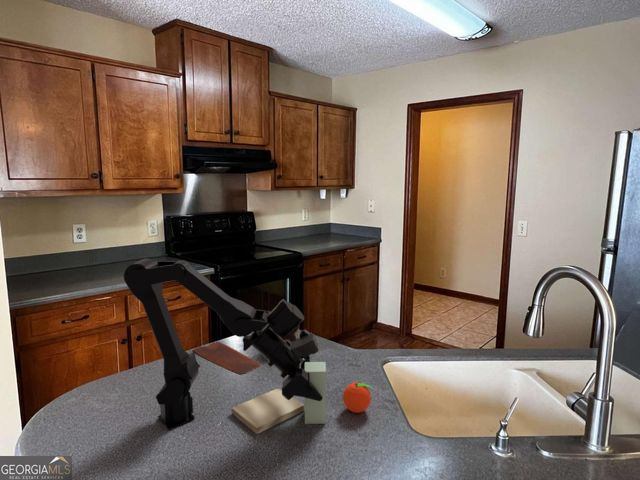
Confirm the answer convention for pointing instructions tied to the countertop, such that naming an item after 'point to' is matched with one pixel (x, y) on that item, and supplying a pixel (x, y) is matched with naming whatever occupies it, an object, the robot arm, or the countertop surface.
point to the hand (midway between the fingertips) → (321, 391)
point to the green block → (313, 408)
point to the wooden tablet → (227, 357)
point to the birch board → (267, 410)
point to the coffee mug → (292, 335)
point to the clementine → (357, 397)
